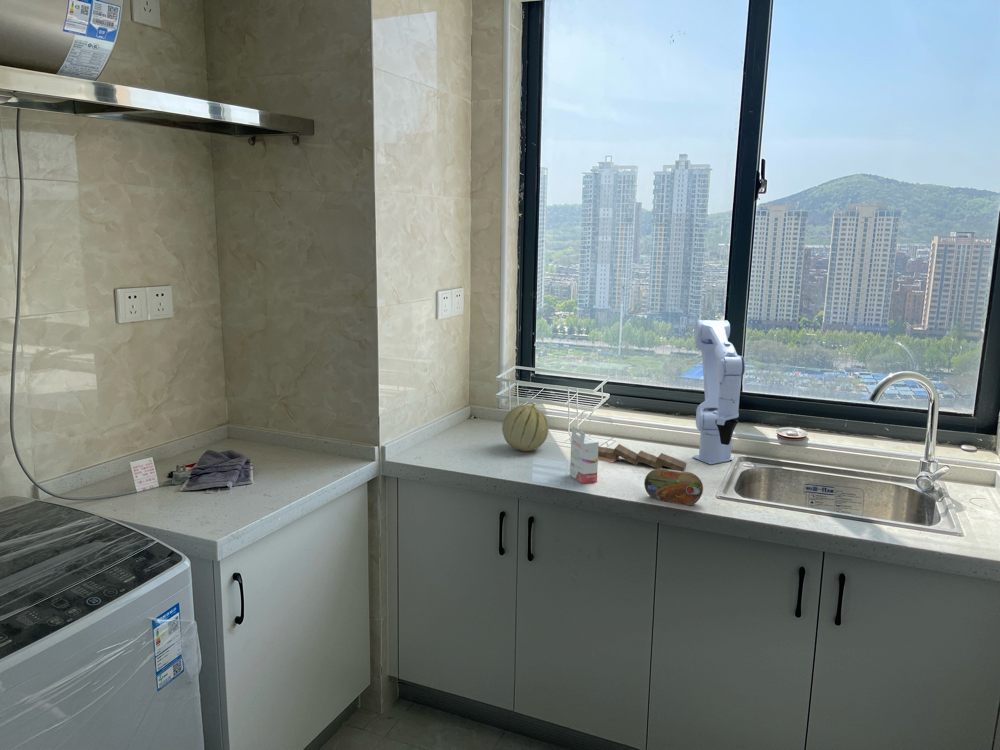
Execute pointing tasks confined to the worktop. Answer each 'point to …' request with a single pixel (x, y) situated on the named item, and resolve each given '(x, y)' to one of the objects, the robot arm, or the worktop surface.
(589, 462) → the ink cartridge box
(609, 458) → the domino
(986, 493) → the worktop surface
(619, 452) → the domino
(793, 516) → the worktop surface
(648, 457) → the domino
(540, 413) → the cantaloupe
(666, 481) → the tin
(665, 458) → the domino
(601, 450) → the domino
